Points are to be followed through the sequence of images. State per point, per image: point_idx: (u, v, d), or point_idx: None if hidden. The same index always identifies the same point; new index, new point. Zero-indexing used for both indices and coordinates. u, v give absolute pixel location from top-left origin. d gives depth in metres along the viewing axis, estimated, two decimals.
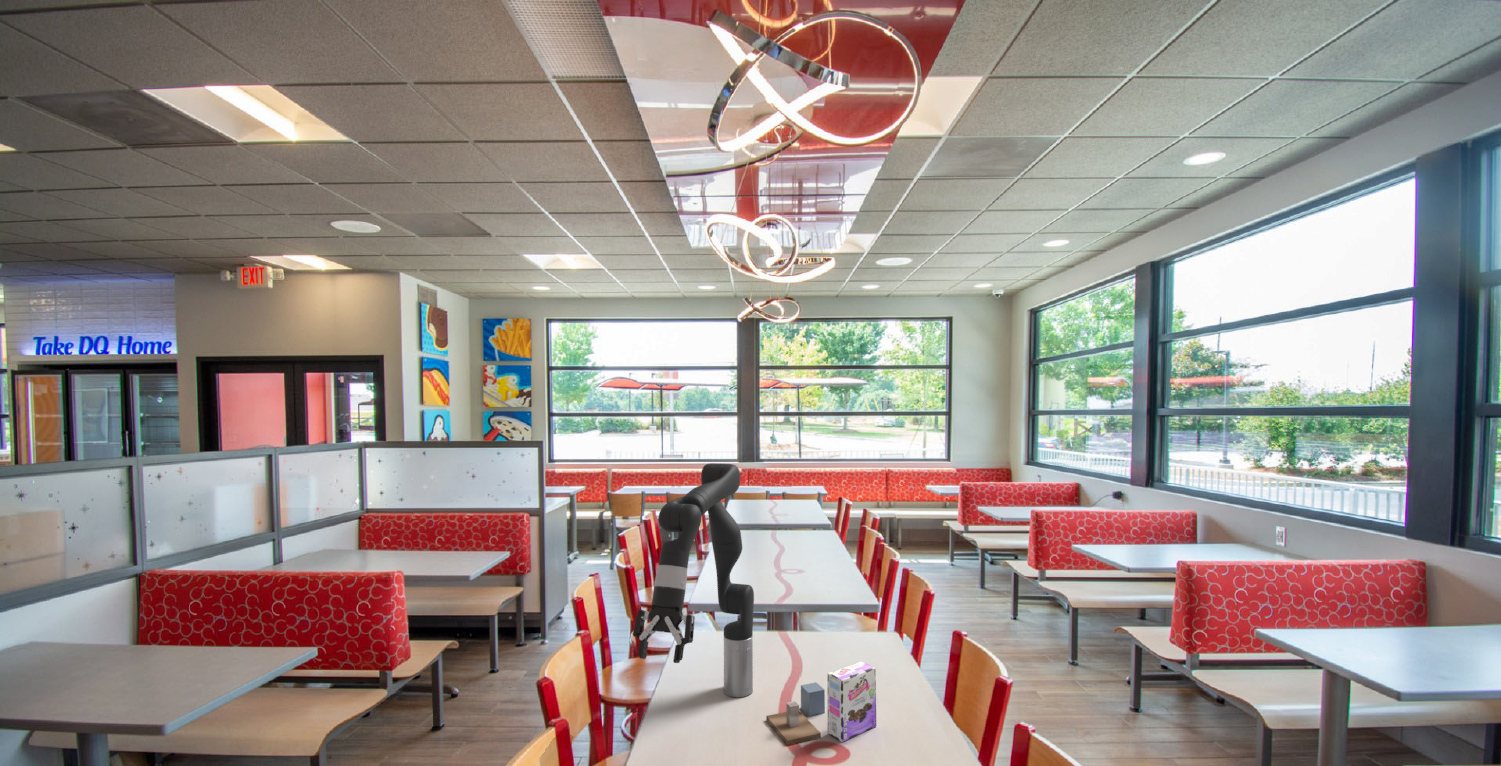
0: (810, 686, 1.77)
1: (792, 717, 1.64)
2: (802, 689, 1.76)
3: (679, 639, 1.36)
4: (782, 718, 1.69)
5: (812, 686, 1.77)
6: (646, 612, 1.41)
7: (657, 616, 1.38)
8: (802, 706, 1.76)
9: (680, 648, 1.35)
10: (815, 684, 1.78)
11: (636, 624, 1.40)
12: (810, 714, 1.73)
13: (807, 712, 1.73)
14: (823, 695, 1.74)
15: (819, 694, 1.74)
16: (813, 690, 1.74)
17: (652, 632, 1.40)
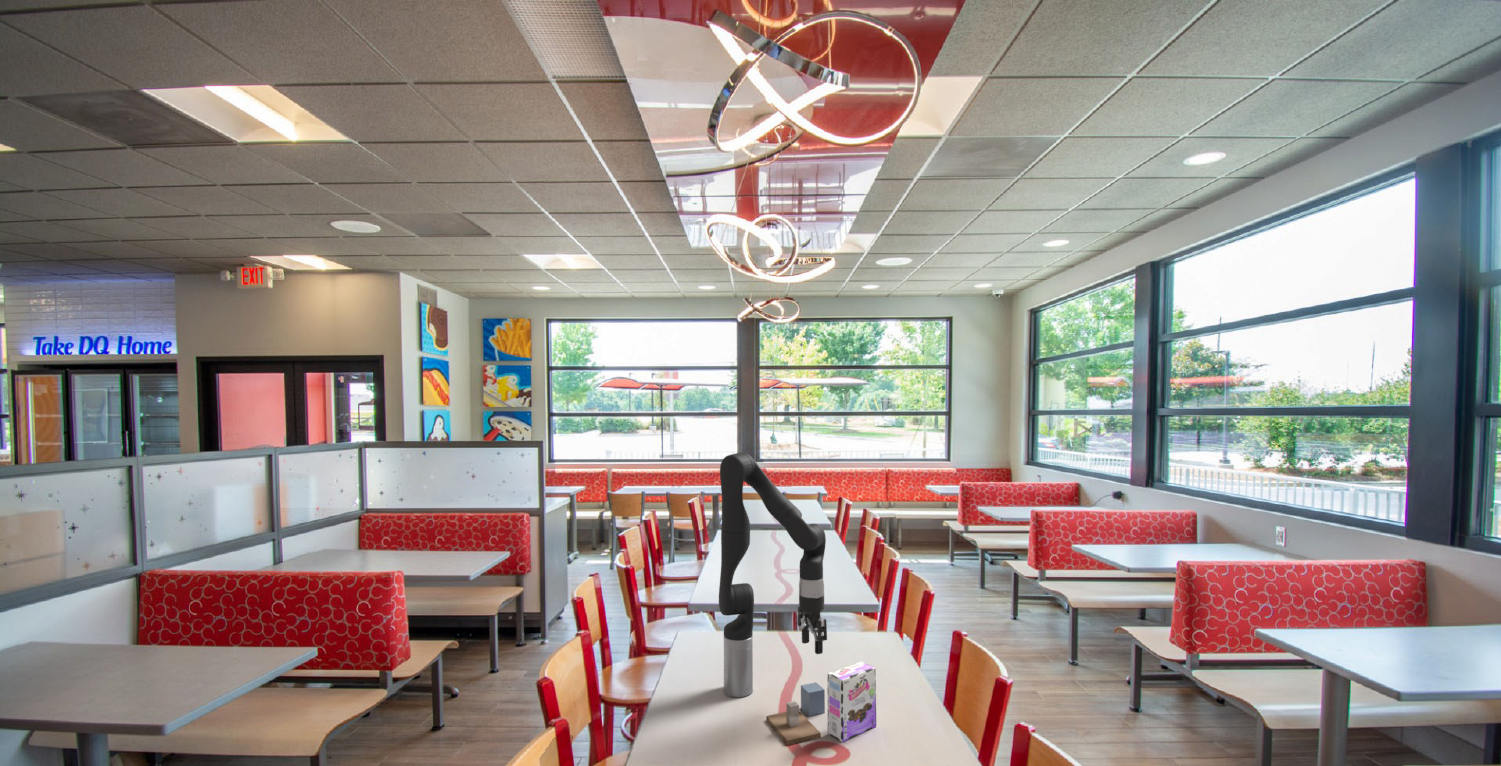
0: (810, 686, 1.77)
1: (792, 717, 1.64)
2: (802, 689, 1.76)
3: None
4: (782, 718, 1.69)
5: (812, 686, 1.77)
6: None
7: None
8: (802, 706, 1.76)
9: None
10: (815, 684, 1.78)
11: None
12: (810, 714, 1.73)
13: (807, 712, 1.73)
14: (823, 695, 1.74)
15: (819, 694, 1.74)
16: (813, 690, 1.74)
17: None
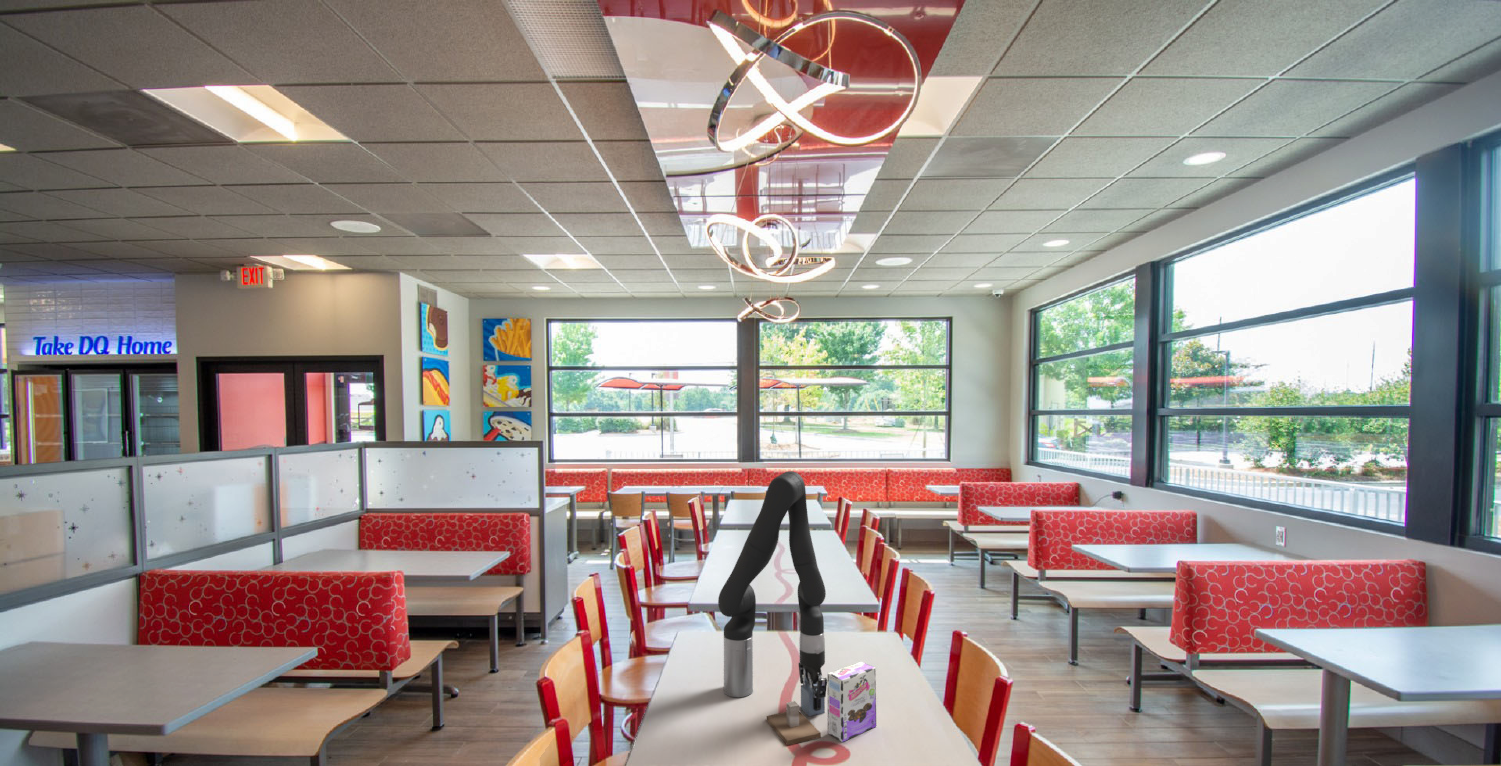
0: None
1: (792, 717, 1.64)
2: (802, 689, 1.76)
3: None
4: (782, 718, 1.69)
5: None
6: None
7: None
8: (802, 706, 1.76)
9: None
10: (815, 684, 1.78)
11: None
12: (810, 714, 1.73)
13: (807, 712, 1.73)
14: None
15: None
16: None
17: None
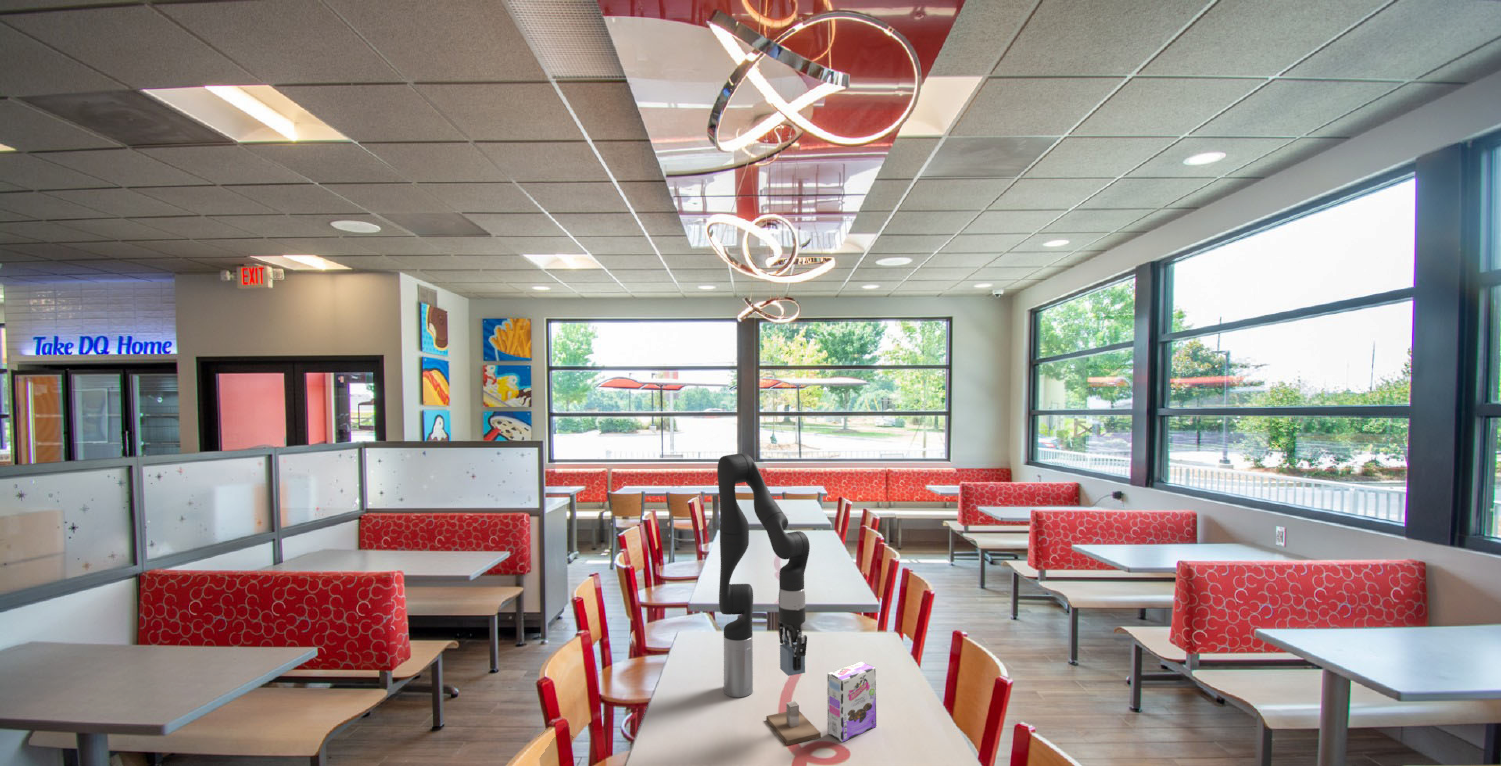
0: None
1: (792, 717, 1.64)
2: (781, 648, 1.67)
3: None
4: (782, 718, 1.69)
5: None
6: None
7: None
8: (782, 666, 1.67)
9: None
10: None
11: None
12: (789, 674, 1.63)
13: (786, 672, 1.64)
14: None
15: None
16: None
17: None
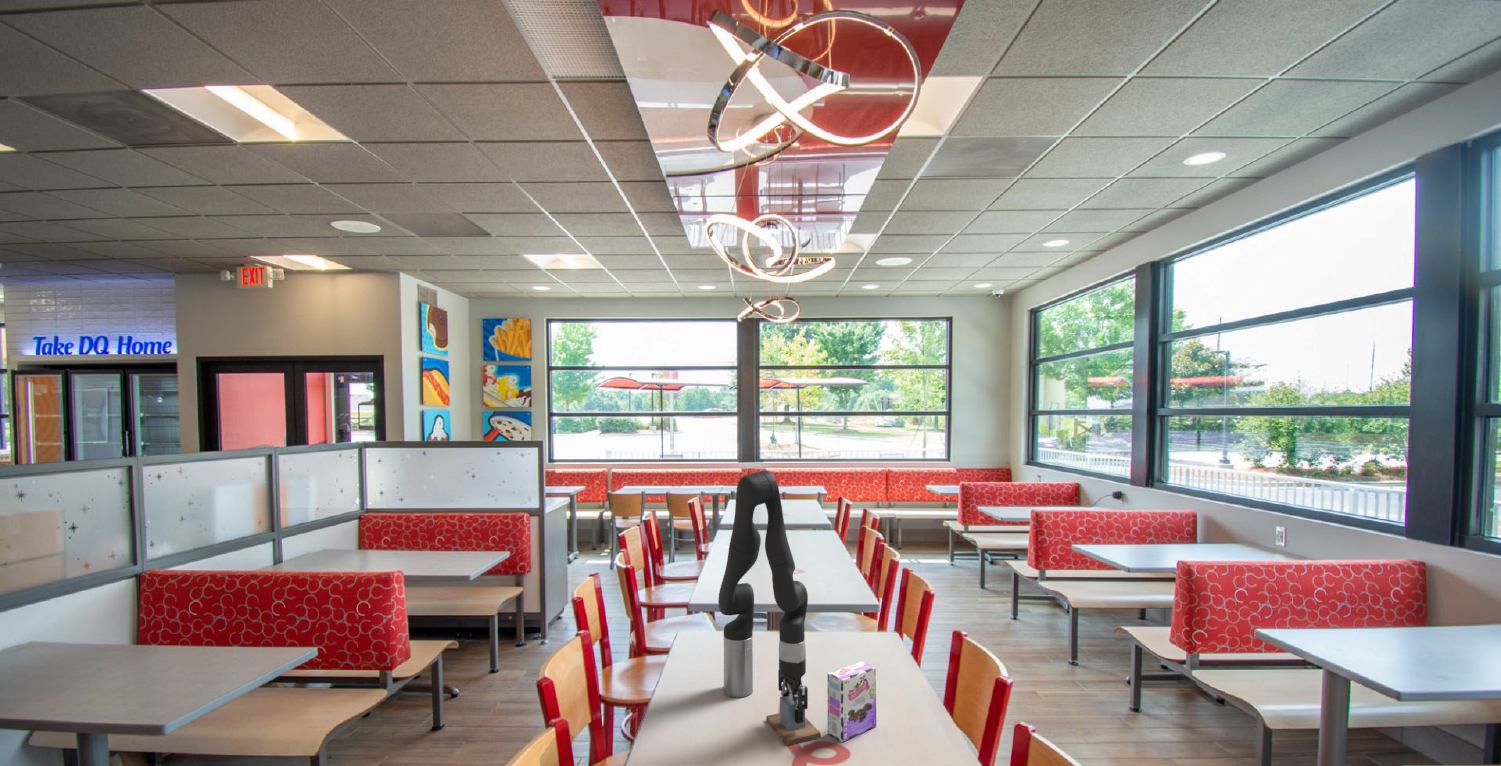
0: (790, 698, 1.67)
1: None
2: (781, 701, 1.66)
3: None
4: None
5: None
6: None
7: None
8: (782, 719, 1.66)
9: None
10: (795, 696, 1.68)
11: None
12: (789, 728, 1.62)
13: (786, 726, 1.63)
14: None
15: None
16: (793, 703, 1.64)
17: None
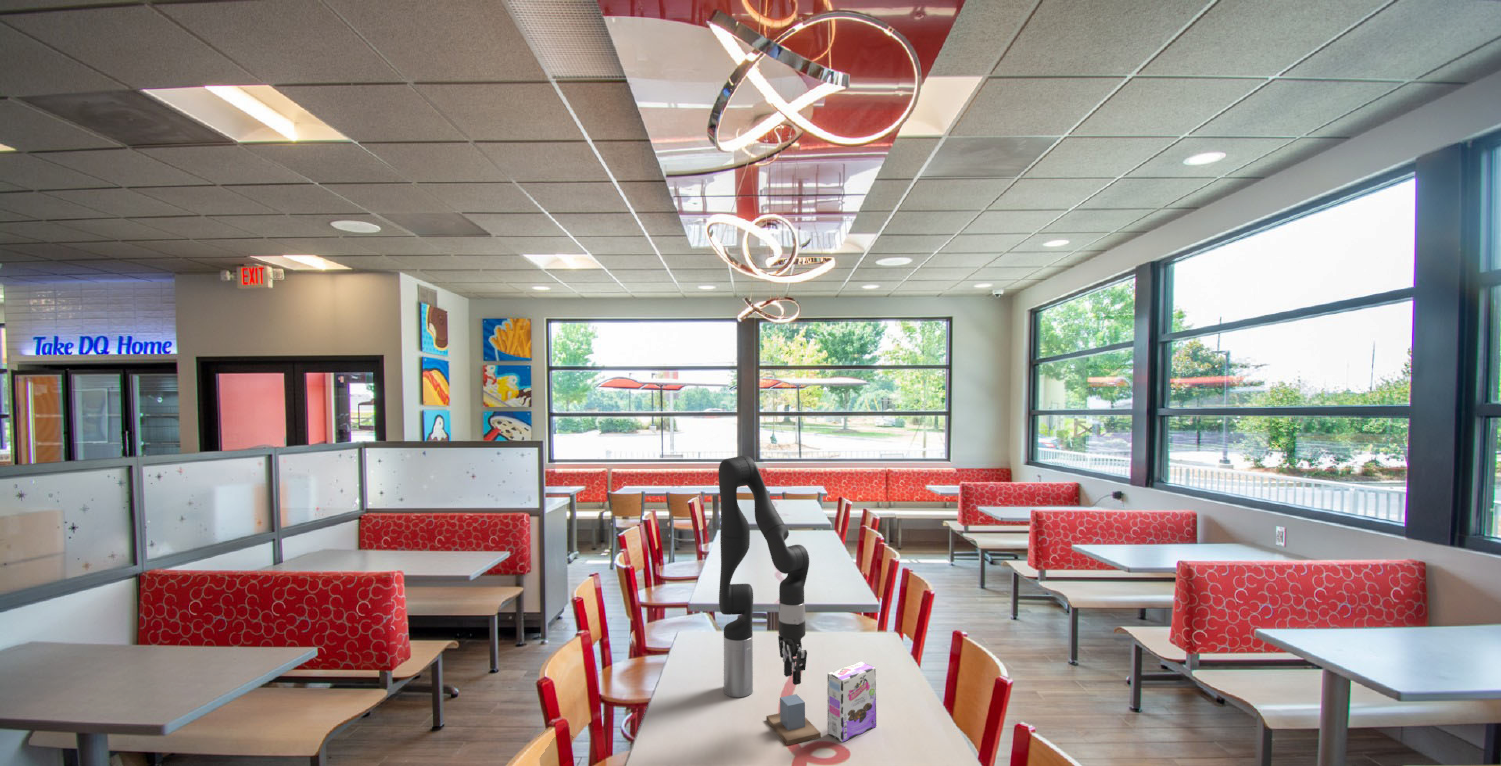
0: (790, 698, 1.67)
1: None
2: (781, 701, 1.66)
3: None
4: None
5: (792, 698, 1.67)
6: None
7: None
8: (782, 719, 1.66)
9: None
10: (795, 696, 1.68)
11: None
12: (789, 728, 1.62)
13: (786, 726, 1.63)
14: (803, 708, 1.64)
15: (799, 707, 1.64)
16: (793, 703, 1.64)
17: None
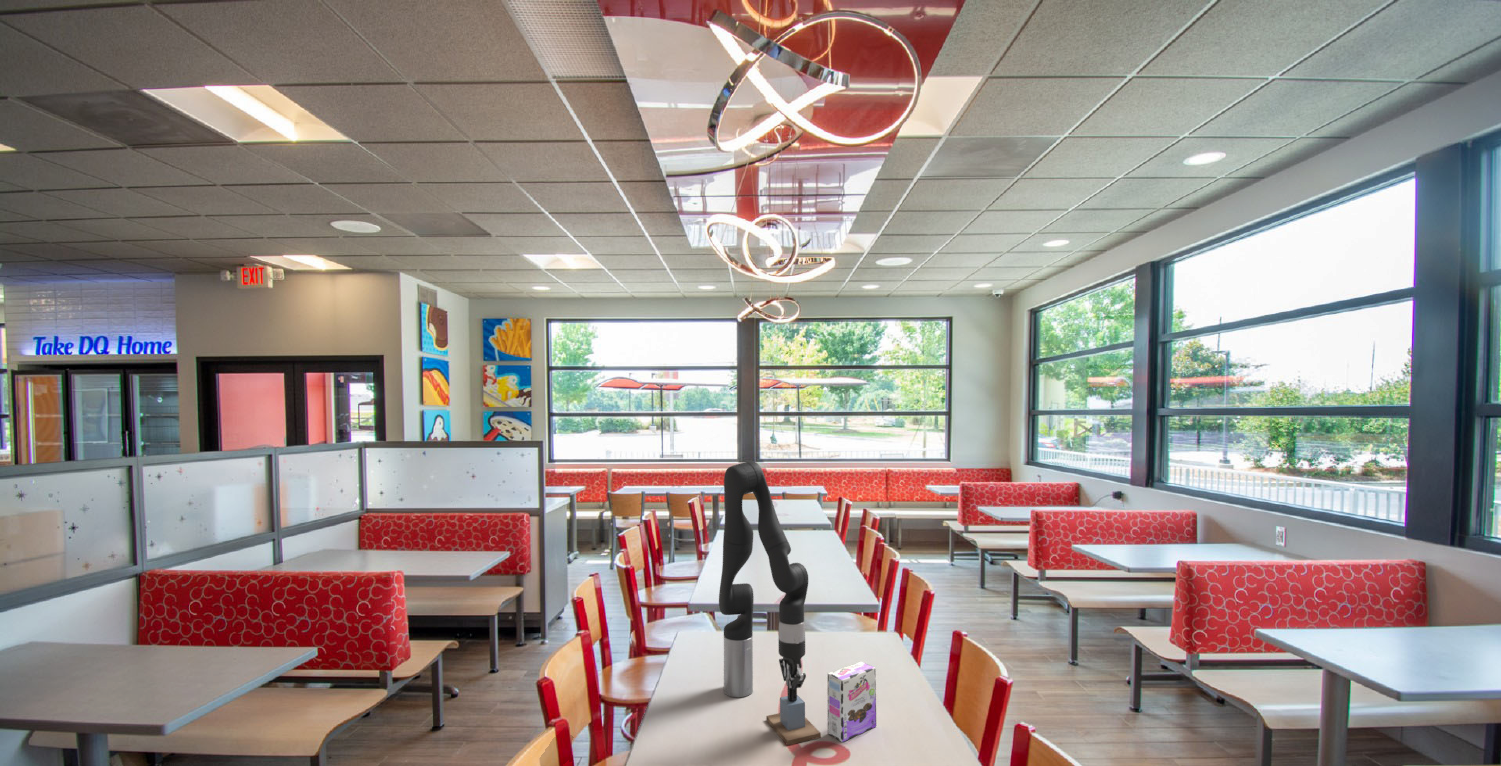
0: None
1: None
2: (781, 701, 1.66)
3: None
4: None
5: None
6: None
7: None
8: (782, 719, 1.66)
9: None
10: None
11: None
12: (789, 728, 1.62)
13: (786, 726, 1.63)
14: (803, 708, 1.64)
15: (799, 707, 1.64)
16: (793, 703, 1.64)
17: None
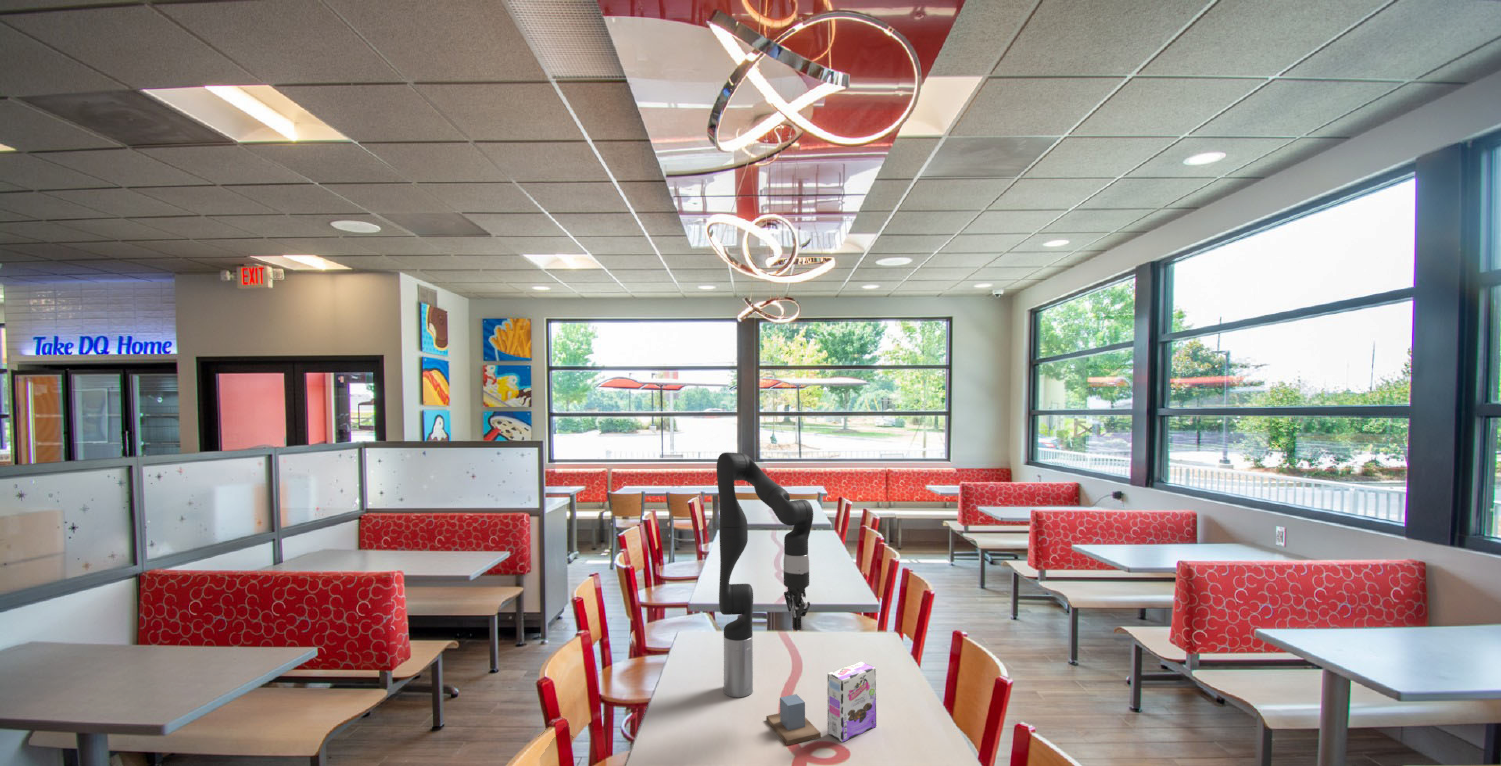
0: (790, 698, 1.67)
1: None
2: (781, 701, 1.66)
3: None
4: None
5: (792, 698, 1.67)
6: None
7: None
8: (782, 719, 1.66)
9: None
10: (795, 696, 1.68)
11: None
12: (789, 728, 1.62)
13: (786, 726, 1.63)
14: (803, 708, 1.64)
15: (799, 707, 1.64)
16: (793, 703, 1.64)
17: None
